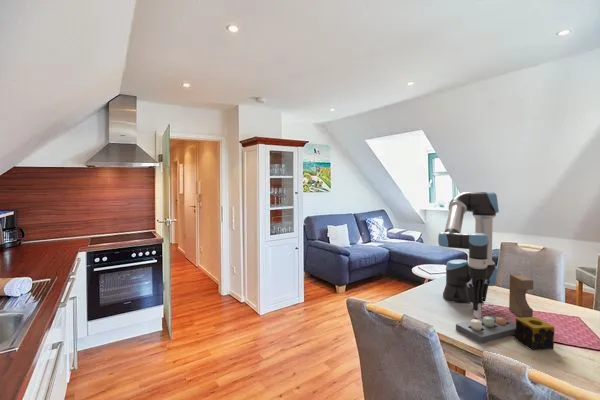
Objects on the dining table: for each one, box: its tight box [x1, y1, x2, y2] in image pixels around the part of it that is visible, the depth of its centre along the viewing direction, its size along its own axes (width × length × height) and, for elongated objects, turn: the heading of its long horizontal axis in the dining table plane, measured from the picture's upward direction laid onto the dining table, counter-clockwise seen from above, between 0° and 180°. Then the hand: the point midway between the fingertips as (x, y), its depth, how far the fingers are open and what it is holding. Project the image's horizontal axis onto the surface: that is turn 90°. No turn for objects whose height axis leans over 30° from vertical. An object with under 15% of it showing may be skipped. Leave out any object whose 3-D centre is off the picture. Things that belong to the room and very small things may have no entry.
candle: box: [513, 316, 555, 351], centre depth 137 cm, size 10×10×10 cm
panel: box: [455, 314, 516, 345], centre depth 149 cm, size 14×26×3 cm, turn 110°
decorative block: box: [508, 273, 534, 318], centre depth 167 cm, size 11×6×20 cm, turn 177°
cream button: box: [471, 318, 482, 332], centre depth 146 cm, size 4×4×4 cm
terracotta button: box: [496, 316, 507, 326], centre depth 152 cm, size 4×4×4 cm
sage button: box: [483, 315, 494, 329], centre depth 149 cm, size 4×4×4 cm
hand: (477, 316), depth 146 cm, fingers closed
